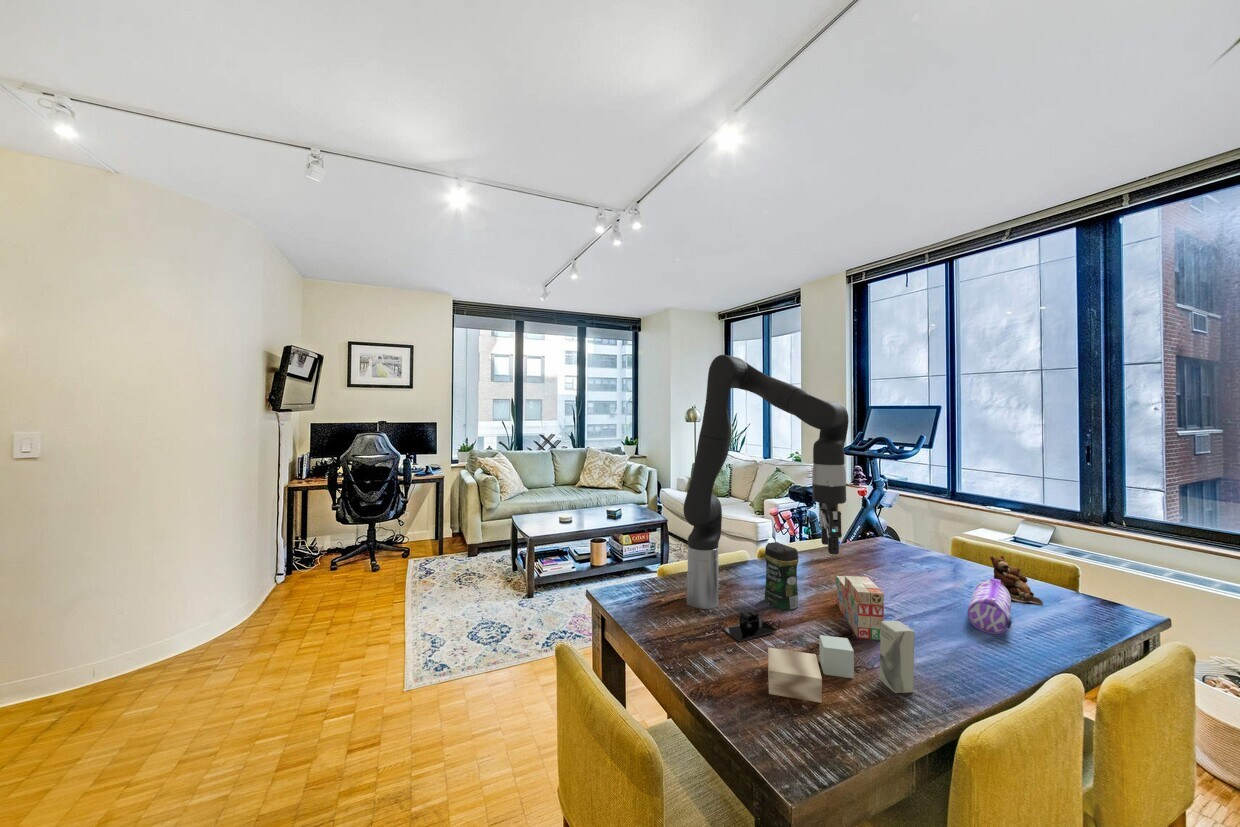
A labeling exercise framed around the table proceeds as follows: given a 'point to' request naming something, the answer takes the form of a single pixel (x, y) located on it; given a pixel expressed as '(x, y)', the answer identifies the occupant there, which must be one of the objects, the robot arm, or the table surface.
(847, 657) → the sage cube
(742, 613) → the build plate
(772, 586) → the coffee jar
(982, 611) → the pencil case
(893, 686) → the box
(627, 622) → the table surface
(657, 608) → the table surface
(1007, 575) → the bear figurine
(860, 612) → the stack of blocks
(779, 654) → the oak block
